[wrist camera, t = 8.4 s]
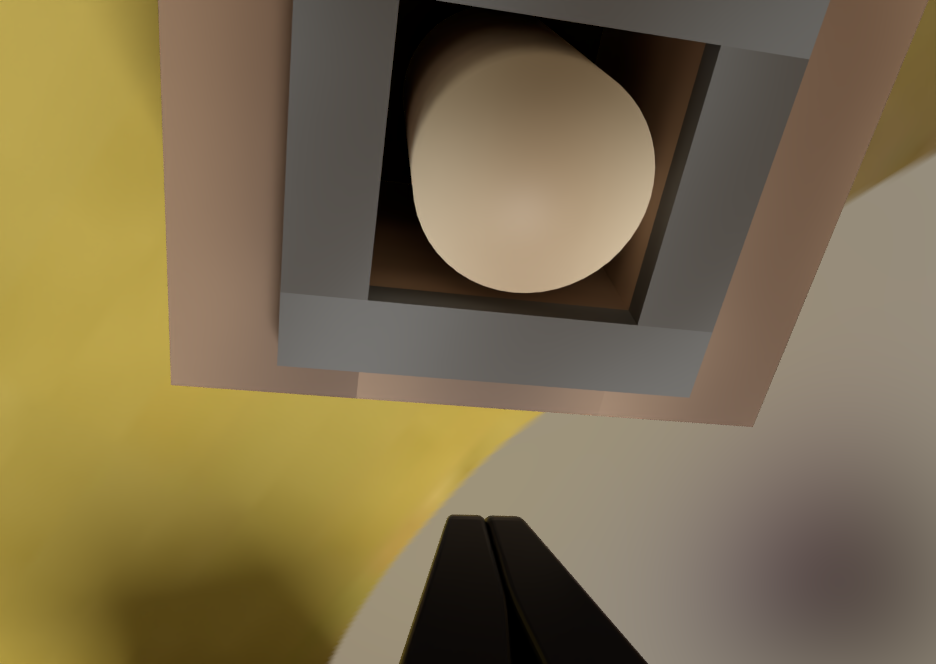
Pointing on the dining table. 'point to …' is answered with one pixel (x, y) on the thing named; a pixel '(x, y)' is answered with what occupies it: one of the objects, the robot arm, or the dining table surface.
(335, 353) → the walnut block
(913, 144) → the dining table surface
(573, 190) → the peg
